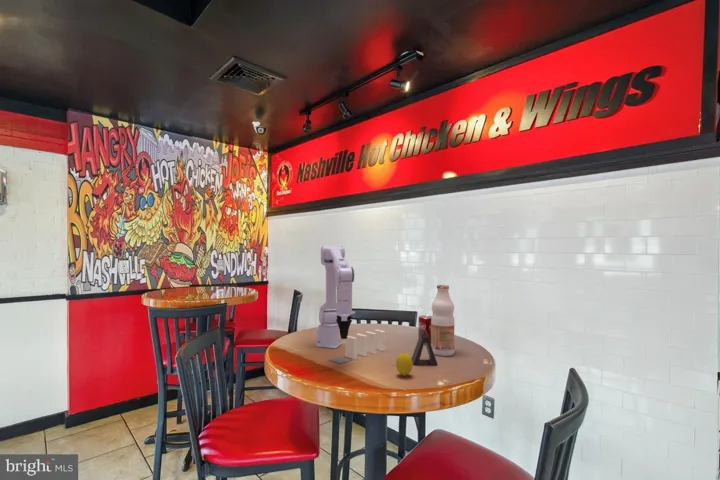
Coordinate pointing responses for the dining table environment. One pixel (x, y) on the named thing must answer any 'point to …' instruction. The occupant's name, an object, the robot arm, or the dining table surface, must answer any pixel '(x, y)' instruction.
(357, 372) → the dining table surface
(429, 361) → the phone stand
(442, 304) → the fruit juice
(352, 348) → the tile
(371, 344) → the tile
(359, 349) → the tile
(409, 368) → the lemon
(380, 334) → the head tile
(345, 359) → the end marker
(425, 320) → the soda can
